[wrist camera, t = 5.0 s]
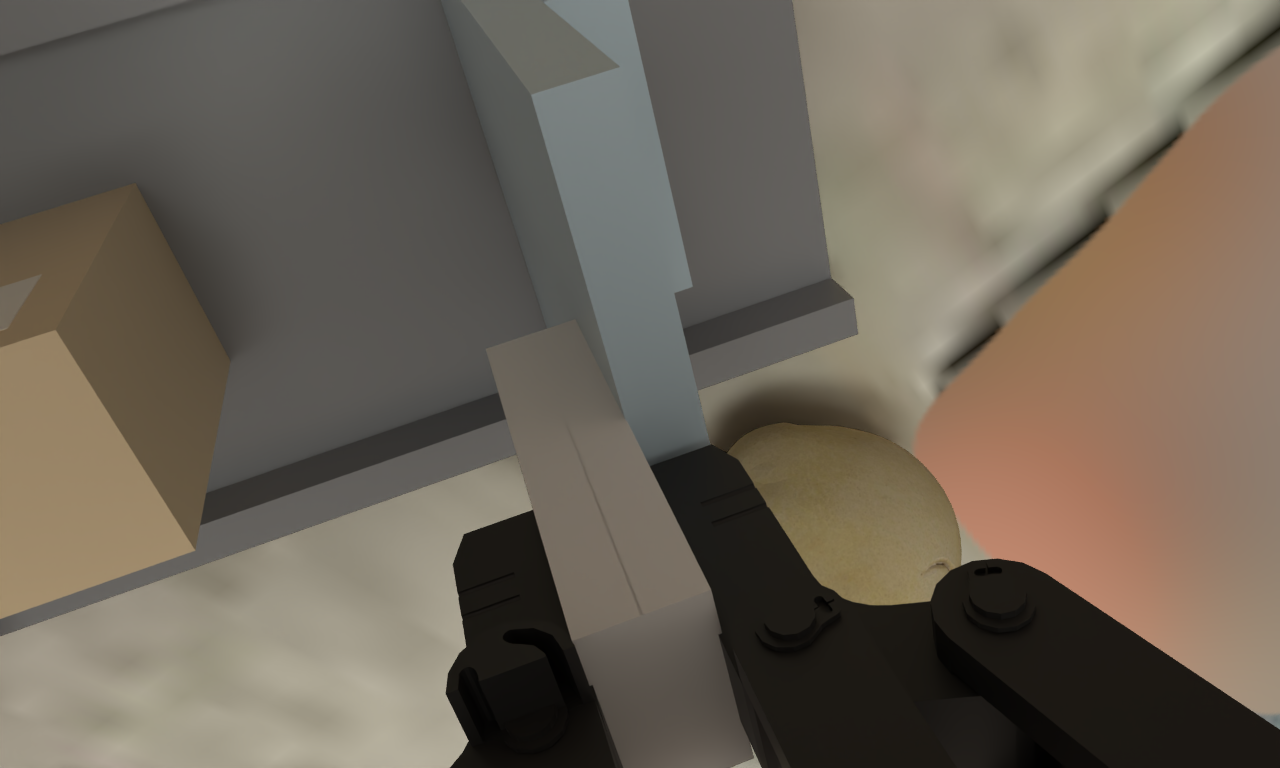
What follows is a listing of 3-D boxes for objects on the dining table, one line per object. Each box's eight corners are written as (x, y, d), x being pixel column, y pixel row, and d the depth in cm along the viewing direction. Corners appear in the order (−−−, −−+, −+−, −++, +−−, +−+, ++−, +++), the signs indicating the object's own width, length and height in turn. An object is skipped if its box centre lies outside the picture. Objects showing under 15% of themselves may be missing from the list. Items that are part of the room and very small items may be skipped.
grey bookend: (424, -49, 22) (530, 94, 10) (593, -98, 23) (877, -14, 11) (557, 359, 28) (720, 746, 16) (689, 314, 29) (941, 658, 17)
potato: (790, 593, 37) (893, 765, 30) (623, 519, 33) (697, 697, 26) (923, 436, 35) (1064, 583, 28) (760, 339, 31) (879, 481, 24)
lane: (-428, 97, 20) (-676, 187, 15) (743, -232, 23) (858, -248, 18) (-24, 592, 28) (-101, 760, 23) (822, 299, 31) (918, 392, 26)
